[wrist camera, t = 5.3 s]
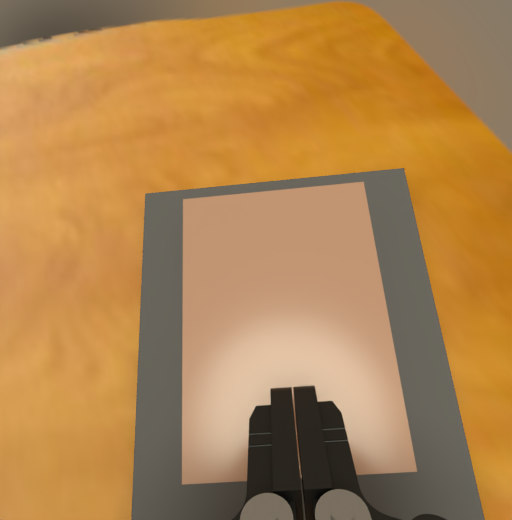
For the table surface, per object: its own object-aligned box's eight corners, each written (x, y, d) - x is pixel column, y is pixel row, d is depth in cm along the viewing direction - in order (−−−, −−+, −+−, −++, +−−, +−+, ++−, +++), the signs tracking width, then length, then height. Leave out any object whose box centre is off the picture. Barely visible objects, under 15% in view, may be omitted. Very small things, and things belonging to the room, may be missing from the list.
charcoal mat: (487, 562, 17) (496, 569, 16) (135, 576, 18) (128, 585, 17) (400, 175, 24) (403, 168, 23) (149, 200, 25) (145, 193, 24)
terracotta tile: (417, 471, 16) (363, 181, 21) (181, 484, 16) (183, 199, 21) (403, 463, 18) (357, 199, 23) (192, 475, 18) (191, 215, 23)
